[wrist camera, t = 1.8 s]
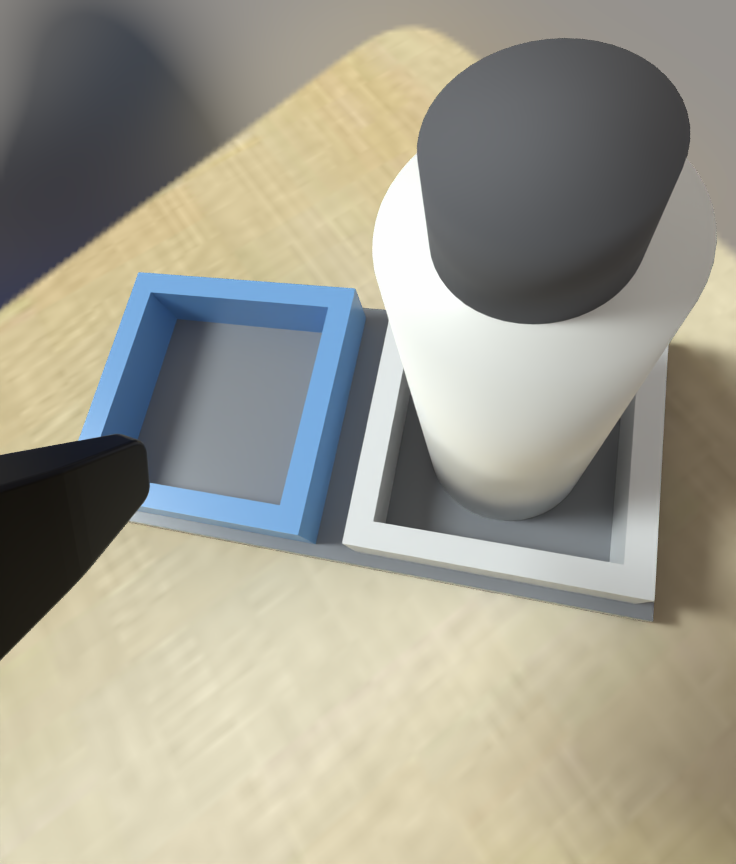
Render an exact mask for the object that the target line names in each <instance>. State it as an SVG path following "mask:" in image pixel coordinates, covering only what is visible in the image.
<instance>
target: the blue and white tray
mask: <svg viewBox="0 0 736 864" xmlns="http://www.w3.org/2000/svg"><path fill="white" fill-rule="evenodd" d="M667 361H668V346H667V347H666V349H665V351H664V352H663V354H662V355H661V357H660V358H659V360H658V361H657V363H656V364H655V366H654V367H653V369H652V370H651V372H650V373H649V375H648V376H647V378H646V379H645V381H644V382H643V384H642V385H641V387H640V388H639V390H638V391H637V393H636V394H635V396H634V397H633V399H632V400H631V402H630V403H629V405H628V406H627V408H626V409H625V411H624V412H623V414H622V415H621V417H620V418H619V420H618V421H617V423H616V424H615V426H614V427H613V429H612V430H611V432H610V433H609V435H608V436H607V438H606V439H605V441H604V442H603V444H602V445H601V447H600V448H599V450H598V451H597V453H596V455H595V456H594V458H593V459H592V461H591V462H590V464H589V465H588V467H587V468H586V470H585V471H584V473H583V474H582V476H581V477H580V479H579V480H578V482H577V483H576V485H575V486H574V488H573V489H572V490H571V492H570V493H569V494H568V495H567V496H566V497H565V498H564V499H563V500H562V501H561V502H560V503H559V504H558V505H556V506H555V507H554V508H552V509H550V510H549V511H547V512H545V513H543V514H540V515H538V516H536V517H532V518H528V519H524V520H517V521H502V520H494V519H490V518H486V517H482V516H480V515H477V514H475V513H473V512H471V511H469V510H467V509H465V508H464V507H463V506H461V505H460V504H458V503H457V502H456V501H455V500H454V499H453V498H452V497H451V496H450V495H449V494H448V493H447V492H446V490H445V489H444V488H443V486H442V485H441V483H440V481H439V480H438V478H437V475H436V473H435V471H434V468H433V464H432V461H431V458H430V454H429V451H428V448H427V444H426V441H425V438H424V434H423V431H422V428H421V424H420V421H419V418H418V415H417V411H416V408H415V405H414V401H413V398H412V395H411V391H410V388H409V385H408V381H407V378H406V375H405V371H404V368H403V365H402V362H401V358H400V355H399V352H398V348H397V345H396V342H395V338H394V335H393V332H392V328H391V325H390V322H389V318H388V315H387V312H386V310H381V309H369V308H362V305H361V303H360V300H359V297H358V294H357V292H356V289H354V288H340V287H327V286H314V285H300V284H287V283H274V282H260V281H247V280H234V279H221V278H207V277H194V276H181V275H167V274H154V273H141V272H139V273H138V276H137V278H136V281H135V284H134V287H133V290H132V292H131V295H130V298H129V301H128V303H127V306H126V309H125V312H124V315H123V317H122V320H121V323H120V326H119V329H118V331H117V334H116V337H115V340H114V343H113V345H112V348H111V351H110V354H109V356H108V359H107V362H106V365H105V368H104V370H103V373H102V376H101V379H100V382H99V384H98V387H97V390H96V393H95V396H94V398H93V401H92V404H91V407H90V410H89V412H88V415H87V418H86V421H85V423H84V426H83V429H82V432H81V435H80V437H79V440H78V441H80V440H85V439H90V438H96V437H101V436H107V435H112V434H123V435H126V436H129V437H132V438H135V439H138V440H140V441H141V442H143V443H144V445H145V447H146V449H147V457H148V468H149V479H150V490H149V493H148V496H147V498H146V500H145V502H144V503H143V504H142V505H141V507H140V508H139V509H138V510H137V512H136V513H135V514H134V515H133V516H132V518H131V519H130V520H129V521H128V522H131V523H136V524H141V525H147V526H152V527H157V528H162V529H167V530H173V531H178V532H183V533H188V534H193V535H198V536H204V537H209V538H214V539H219V540H224V541H230V542H235V543H240V544H245V545H250V546H255V547H261V548H266V549H271V550H276V551H281V552H286V553H292V554H297V555H302V556H307V557H312V558H318V559H323V560H328V561H333V562H338V563H343V564H349V565H354V566H359V567H364V568H369V569H374V570H380V571H385V572H390V573H395V574H400V575H406V576H411V577H416V578H421V579H426V580H431V581H437V582H442V583H447V584H452V585H457V586H463V587H468V588H473V589H478V590H483V591H488V592H494V593H499V594H504V595H509V596H514V597H519V598H525V599H530V600H535V601H540V602H545V603H551V604H556V605H561V606H566V607H571V608H576V609H582V610H587V611H592V612H597V613H602V614H607V615H613V616H618V617H623V618H628V619H633V620H639V621H644V622H653V613H654V601H655V583H656V564H657V546H658V527H659V509H660V490H661V472H662V453H663V435H664V416H665V398H666V379H667Z"/></svg>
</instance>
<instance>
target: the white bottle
mask: <svg viewBox="0 0 736 864" xmlns="http://www.w3.org/2000/svg"><path fill="white" fill-rule="evenodd" d="M689 143H690V124H689V118H688V113H687V110H686V107H685V105H684V102H683V99H682V98H681V96H680V94H679V93H678V91H677V89H676V88H675V86H674V85H673V84H672V83H671V81H670V80H669V79H668V78H667V76H666V75H665V74H663V73H662V72H661V71H660V70H659V69H658V68H656V67H655V66H654V65H653V64H651V63H650V62H648V61H647V60H645V59H644V58H642V57H640V56H638V55H636V54H634V53H632V52H630V51H628V50H626V49H623V48H620V47H617V46H615V45H611V44H607V43H603V42H599V41H593V40H585V39H570V38H558V39H545V40H539V41H531V42H527V43H523V44H519V45H515V46H512V47H509V48H506V49H503V50H501V51H498V52H496V53H493V54H491V55H489V56H487V57H485V58H483V59H481V60H479V61H478V62H476V63H474V64H472V65H471V66H469V67H468V68H467V69H465V70H464V71H462V72H461V73H460V74H458V75H457V76H456V77H455V78H454V79H453V80H452V81H451V82H449V83H448V84H447V85H446V86H445V88H444V89H443V90H442V91H441V92H440V93H439V94H438V96H437V97H436V99H435V100H434V101H433V103H432V104H431V106H430V107H429V109H428V111H427V113H426V115H425V118H424V120H423V123H422V126H421V129H420V132H419V137H418V143H417V154H416V155H415V156H414V157H412V158H411V160H410V161H409V162H408V163H407V164H406V165H405V166H404V168H403V169H402V170H401V171H400V172H399V174H398V175H397V177H396V178H395V180H394V181H393V183H392V184H391V186H390V187H389V189H388V191H387V193H386V195H385V197H384V199H383V201H382V203H381V206H380V209H379V212H378V215H377V218H376V223H375V228H374V234H373V252H372V254H373V262H374V271H375V275H376V278H377V282H378V285H379V289H380V292H381V295H382V299H383V302H384V305H385V308H386V312H387V315H388V318H389V322H390V325H391V328H392V332H393V335H394V338H395V342H396V345H397V348H398V352H399V355H400V358H401V362H402V365H403V368H404V371H405V375H406V378H407V381H408V385H409V388H410V391H411V395H412V398H413V401H414V405H415V408H416V411H417V415H418V418H419V421H420V424H421V428H422V431H423V434H424V438H425V441H426V444H427V448H428V451H429V454H430V458H431V461H432V464H433V468H434V471H435V473H436V475H437V478H438V480H439V481H440V483H441V485H442V486H443V488H444V489H445V490H446V492H447V493H448V494H449V495H450V496H451V497H452V498H453V499H454V500H455V501H456V502H457V503H458V504H460V505H461V506H463V507H464V508H465V509H467V510H469V511H471V512H473V513H475V514H477V515H480V516H482V517H486V518H490V519H494V520H502V521H517V520H524V519H528V518H532V517H536V516H538V515H540V514H543V513H545V512H547V511H549V510H550V509H552V508H554V507H555V506H556V505H558V504H559V503H560V502H561V501H562V500H563V499H564V498H565V497H566V496H567V495H568V494H569V493H570V492H571V490H572V489H573V488H574V486H575V485H576V483H577V482H578V480H579V479H580V477H581V476H582V474H583V473H584V471H585V470H586V468H587V467H588V465H589V464H590V462H591V461H592V459H593V458H594V456H595V455H596V453H597V451H598V450H599V448H600V447H601V445H602V444H603V442H604V441H605V439H606V438H607V436H608V435H609V433H610V432H611V430H612V429H613V427H614V426H615V424H616V423H617V421H618V420H619V418H620V417H621V415H622V414H623V412H624V411H625V409H626V408H627V406H628V405H629V403H630V402H631V400H632V399H633V397H634V396H635V394H636V393H637V391H638V390H639V388H640V387H641V385H642V384H643V382H644V381H645V379H646V378H647V376H648V375H649V373H650V372H651V370H652V369H653V367H654V366H655V364H656V363H657V361H658V360H659V358H660V357H661V355H662V354H663V352H664V351H665V349H666V347H667V346H668V344H669V343H670V341H671V340H672V338H673V337H674V335H675V334H676V332H677V331H678V329H679V328H680V326H681V325H682V323H683V322H684V320H685V319H686V317H687V316H688V314H689V313H690V311H691V310H692V308H693V307H694V305H695V304H696V302H697V301H698V299H699V297H700V295H701V293H702V291H703V289H704V287H705V285H706V283H707V281H708V278H709V275H710V272H711V269H712V266H713V263H714V257H715V250H716V244H717V235H716V220H715V214H714V209H713V204H712V202H711V199H710V196H709V194H708V191H707V188H706V186H705V184H704V182H703V181H702V179H701V177H700V175H699V174H698V172H697V170H696V169H695V168H694V166H693V165H692V164H691V162H690V161H689V160H688V159H687V155H688V149H689Z"/></svg>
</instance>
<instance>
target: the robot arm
mask: <svg viewBox="0 0 736 864" xmlns="http://www.w3.org/2000/svg"><path fill="white" fill-rule="evenodd" d="M149 490H150V479H149V468H148V457H147V449H146V447H145V445H144V443H143V442H141V441H140V440H138V439H135V438H132V437H129V436H126V435H123V434H112V435H107V436H101V437H96V438H90V439H85V440H80V441H74V442H69V443H63V444H58V445H52V446H47V447H42V448H36V449H31V450H25V451H20V452H14V453H9V454H4V455H0V660H1V659H2V658H3V657H4V656H5V655H6V654H7V653H8V652H9V651H10V650H11V649H12V648H13V647H14V646H15V645H16V644H17V643H18V642H19V641H20V640H21V639H22V638H23V637H24V636H25V635H26V634H27V633H28V632H29V631H30V630H31V629H32V628H33V627H34V626H35V625H36V624H37V623H38V622H39V621H40V620H41V619H42V618H43V617H44V616H45V615H46V614H47V613H48V612H49V611H50V610H51V609H52V608H53V607H54V606H55V605H56V604H57V603H58V602H59V601H60V600H61V599H62V598H63V597H64V596H65V595H66V594H67V593H68V592H69V591H70V590H71V589H72V588H73V586H74V585H75V584H76V583H77V582H78V581H79V580H80V579H81V578H82V577H83V576H84V575H85V573H86V572H87V571H88V570H89V569H90V568H91V566H92V565H93V564H94V563H95V562H96V560H97V559H98V558H99V557H100V556H101V554H102V553H103V552H104V551H105V549H106V548H107V547H108V546H109V545H110V543H111V542H112V541H113V540H114V538H115V537H116V536H117V535H118V534H119V532H120V531H121V530H122V529H123V527H124V526H125V525H126V524H127V523H128V521H129V520H130V519H131V518H132V516H133V515H134V514H135V513H136V512H137V510H138V509H139V508H140V507H141V505H142V504H143V503H144V502H145V500H146V498H147V496H148V493H149Z"/></svg>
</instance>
